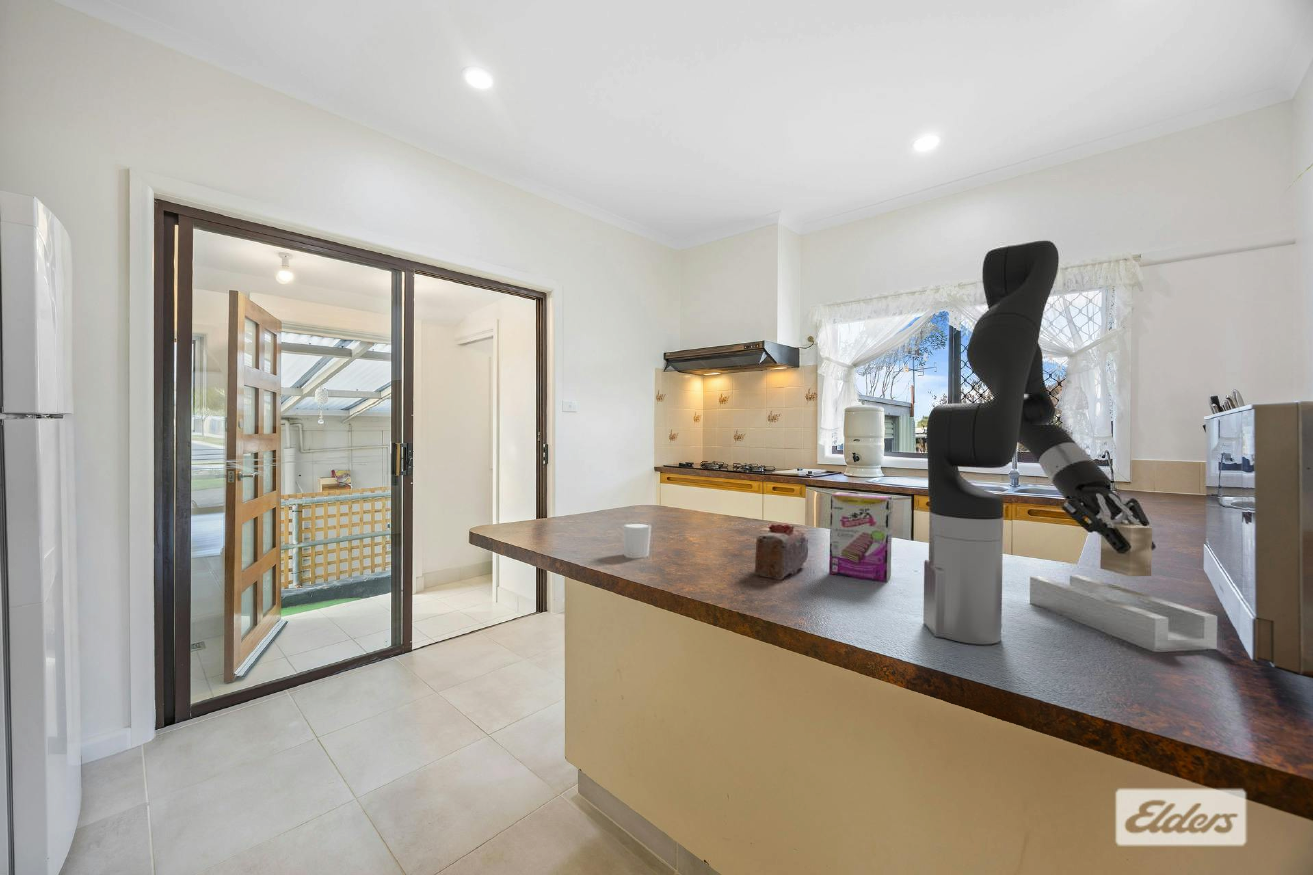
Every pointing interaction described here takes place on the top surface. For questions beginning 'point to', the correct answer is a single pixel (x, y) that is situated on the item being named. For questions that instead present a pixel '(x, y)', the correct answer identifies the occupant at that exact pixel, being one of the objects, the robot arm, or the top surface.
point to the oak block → (1129, 551)
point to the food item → (780, 552)
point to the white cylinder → (636, 540)
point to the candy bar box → (861, 536)
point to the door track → (1127, 614)
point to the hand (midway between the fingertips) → (1137, 550)
